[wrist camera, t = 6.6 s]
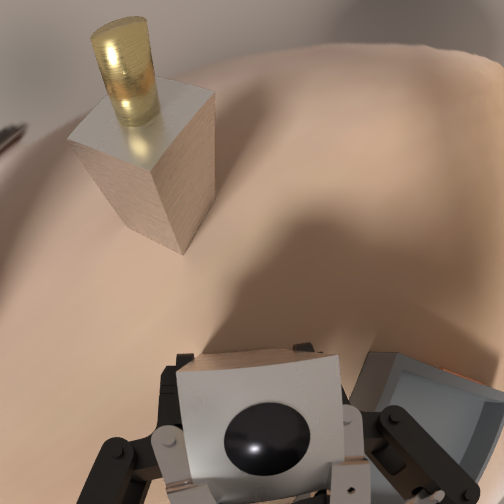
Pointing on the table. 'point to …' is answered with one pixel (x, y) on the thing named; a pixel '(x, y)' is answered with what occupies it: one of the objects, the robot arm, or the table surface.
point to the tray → (431, 412)
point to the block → (261, 422)
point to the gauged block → (148, 139)
